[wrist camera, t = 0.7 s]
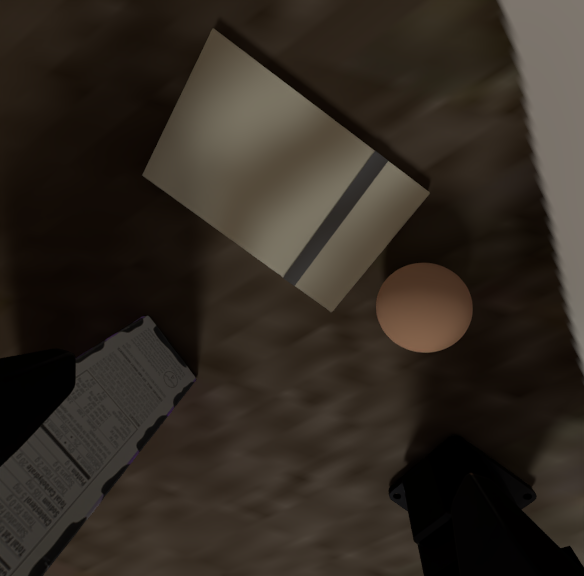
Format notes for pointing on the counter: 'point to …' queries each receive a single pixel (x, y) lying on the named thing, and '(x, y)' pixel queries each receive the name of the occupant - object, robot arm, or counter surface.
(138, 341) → the candy box
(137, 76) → the counter surface
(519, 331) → the counter surface
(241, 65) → the board
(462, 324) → the ball
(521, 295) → the counter surface
